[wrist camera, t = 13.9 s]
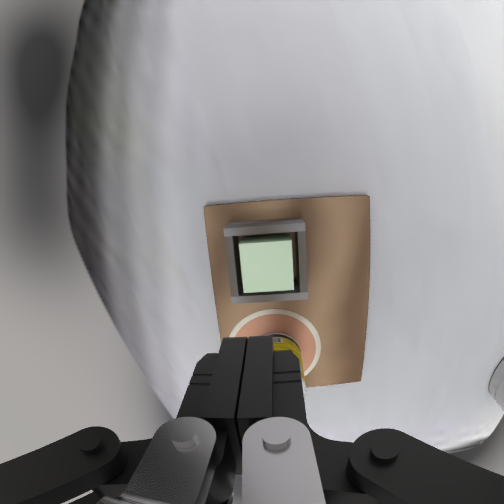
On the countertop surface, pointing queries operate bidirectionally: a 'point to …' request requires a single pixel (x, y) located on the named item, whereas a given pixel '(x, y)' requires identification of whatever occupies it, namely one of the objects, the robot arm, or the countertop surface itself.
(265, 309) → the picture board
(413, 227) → the countertop surface
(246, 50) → the countertop surface
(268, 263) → the button
